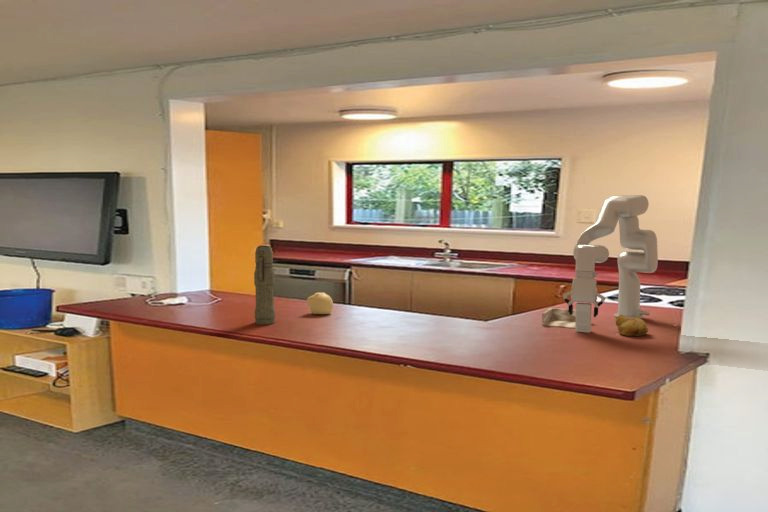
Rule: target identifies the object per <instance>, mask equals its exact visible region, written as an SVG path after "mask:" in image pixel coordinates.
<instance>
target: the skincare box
mask: <svg viewBox="0 0 768 512" xmlns="http://www.w3.org/2000/svg"><path fill="white" fill-rule="evenodd" d="M575 310H576V327H575V329H574V330H575V332H576V333H587V334H588V333H591V331H592V303H588V302H575Z"/></svg>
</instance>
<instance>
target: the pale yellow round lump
mask: <svg viewBox="0 0 768 512" xmlns="http://www.w3.org/2000/svg"><path fill="white" fill-rule="evenodd" d="M306 302H307V307H309V310H310V312H311V314H313V315H329V314H331V313H332V311H333V308H334V301H333V299H332V297H331V296H330V295H329V294H327V293H326V292H321V291H320V292H315V293H313V295H311V296H308V297H307V299H306Z"/></svg>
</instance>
